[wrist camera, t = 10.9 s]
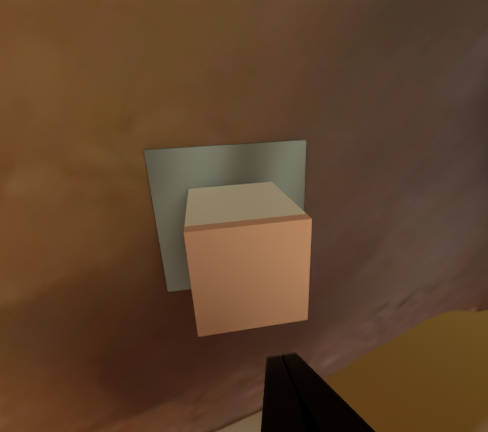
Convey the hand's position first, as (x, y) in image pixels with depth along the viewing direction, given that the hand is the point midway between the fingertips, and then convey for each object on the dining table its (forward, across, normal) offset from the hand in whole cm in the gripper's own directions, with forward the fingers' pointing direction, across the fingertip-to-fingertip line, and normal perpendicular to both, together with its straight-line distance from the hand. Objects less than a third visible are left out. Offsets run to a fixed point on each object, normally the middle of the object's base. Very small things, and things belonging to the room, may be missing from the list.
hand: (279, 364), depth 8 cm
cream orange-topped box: (+11, 0, 0) cm, 11 cm away
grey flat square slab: (+12, 0, 0) cm, 12 cm away
